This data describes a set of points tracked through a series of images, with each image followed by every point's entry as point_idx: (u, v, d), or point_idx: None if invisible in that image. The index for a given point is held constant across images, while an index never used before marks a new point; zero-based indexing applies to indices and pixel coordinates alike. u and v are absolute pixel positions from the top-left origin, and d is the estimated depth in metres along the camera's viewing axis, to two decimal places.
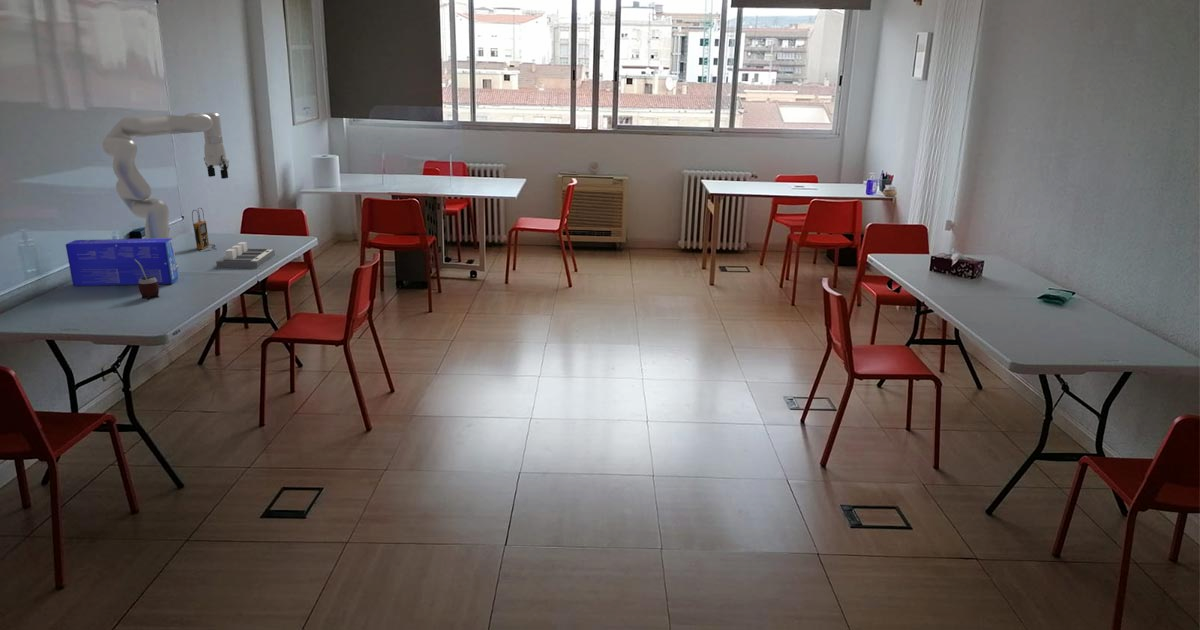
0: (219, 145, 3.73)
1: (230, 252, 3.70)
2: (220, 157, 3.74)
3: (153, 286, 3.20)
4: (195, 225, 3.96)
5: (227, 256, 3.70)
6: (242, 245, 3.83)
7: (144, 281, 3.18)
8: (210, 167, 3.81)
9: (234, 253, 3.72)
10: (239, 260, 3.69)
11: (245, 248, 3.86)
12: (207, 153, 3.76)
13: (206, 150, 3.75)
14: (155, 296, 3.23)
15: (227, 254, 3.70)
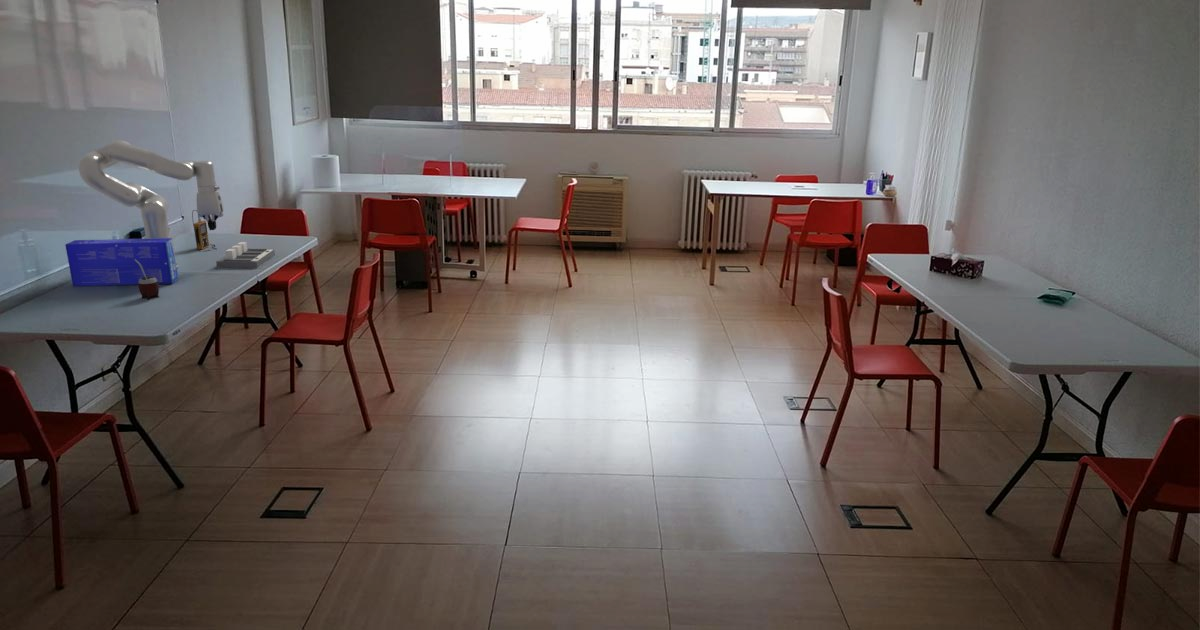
0: None
1: (230, 252, 3.70)
2: None
3: (153, 286, 3.20)
4: (195, 225, 3.96)
5: (227, 256, 3.70)
6: (242, 245, 3.83)
7: (144, 281, 3.18)
8: None
9: (234, 253, 3.72)
10: (239, 260, 3.69)
11: (245, 248, 3.86)
12: None
13: None
14: (155, 296, 3.23)
15: (227, 254, 3.70)
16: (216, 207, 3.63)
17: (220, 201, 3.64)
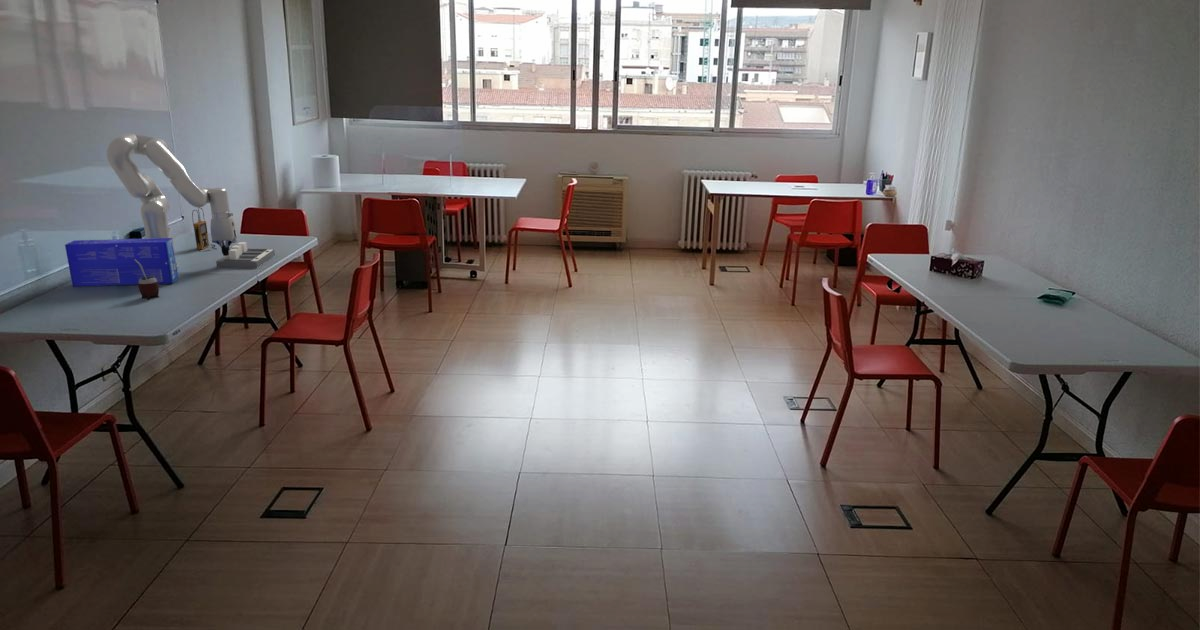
0: None
1: (233, 252, 3.70)
2: None
3: (153, 286, 3.20)
4: (195, 225, 3.96)
5: (230, 256, 3.70)
6: (242, 245, 3.83)
7: (144, 281, 3.18)
8: None
9: (237, 253, 3.72)
10: (239, 260, 3.69)
11: (245, 248, 3.86)
12: None
13: None
14: (155, 296, 3.23)
15: (230, 254, 3.70)
16: (230, 233, 3.67)
17: (233, 227, 3.68)
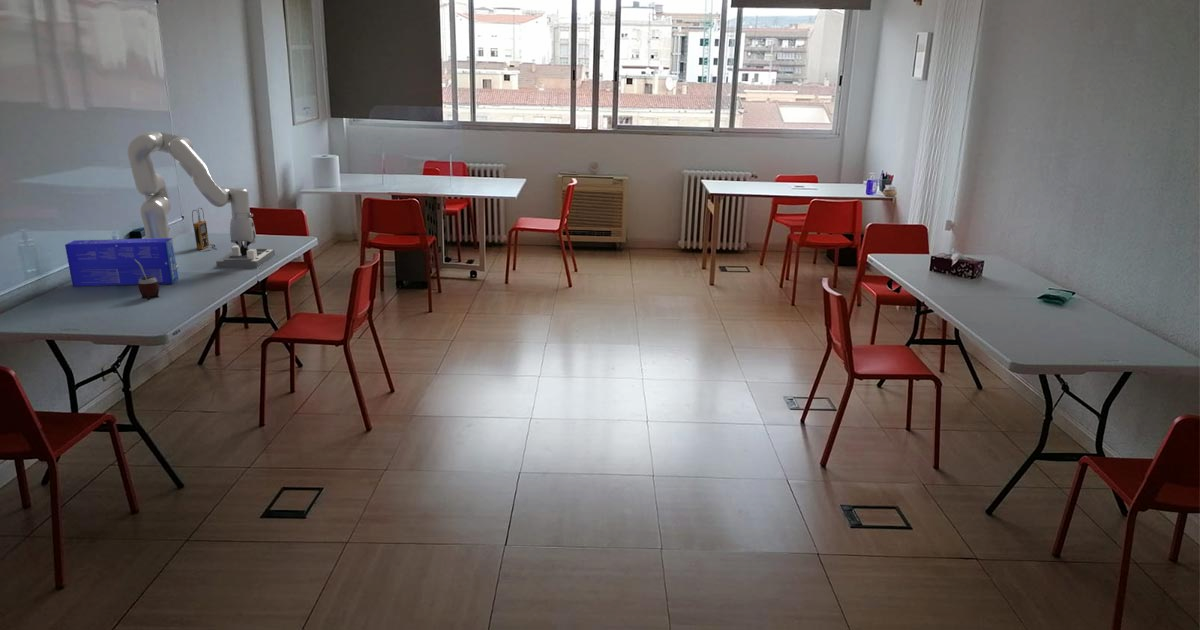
0: None
1: (251, 252, 3.70)
2: None
3: (153, 286, 3.20)
4: (195, 225, 3.96)
5: (248, 256, 3.71)
6: None
7: (144, 281, 3.18)
8: None
9: (255, 253, 3.73)
10: (239, 260, 3.69)
11: None
12: None
13: None
14: (155, 296, 3.23)
15: (248, 254, 3.70)
16: (249, 234, 3.68)
17: (253, 228, 3.69)
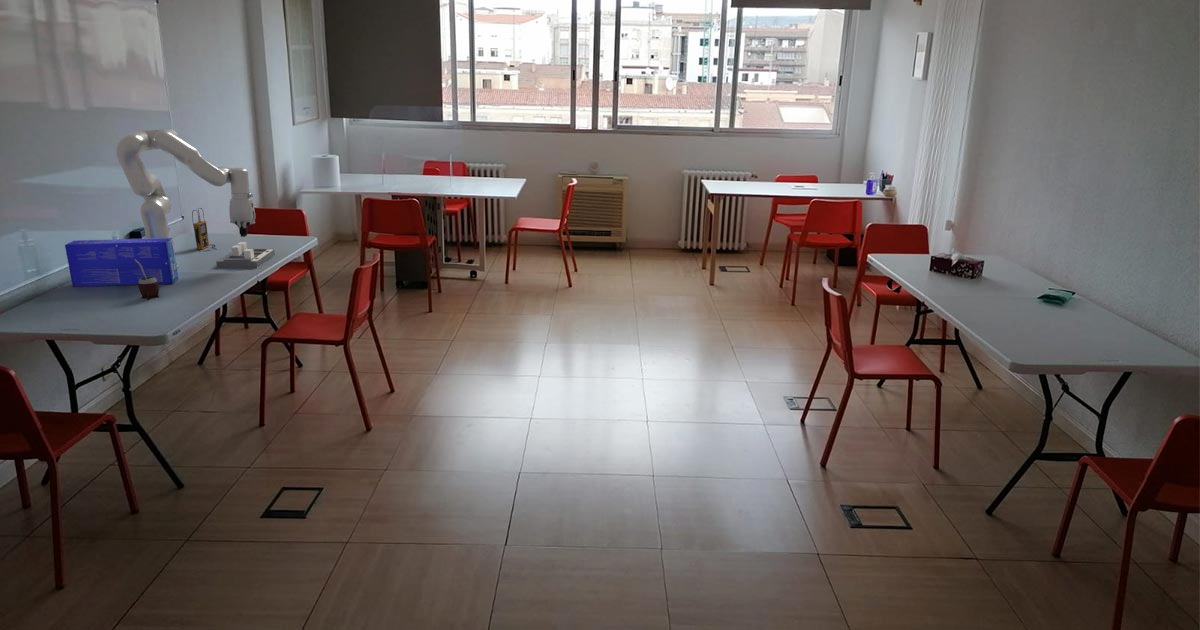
0: None
1: (248, 252, 3.70)
2: None
3: (153, 286, 3.20)
4: (195, 225, 3.96)
5: (245, 256, 3.71)
6: (242, 245, 3.83)
7: (144, 281, 3.18)
8: None
9: (252, 253, 3.73)
10: (239, 260, 3.69)
11: (245, 248, 3.86)
12: None
13: None
14: (155, 296, 3.23)
15: (245, 254, 3.70)
16: (249, 214, 3.65)
17: (252, 209, 3.66)
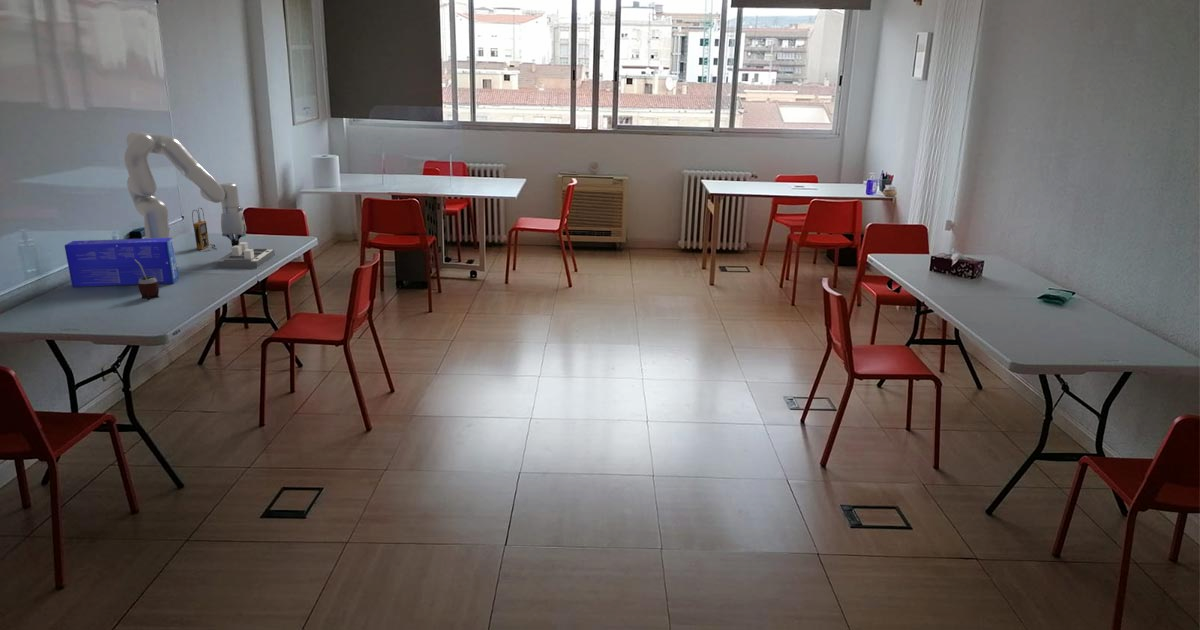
0: None
1: (248, 252, 3.70)
2: None
3: (153, 286, 3.20)
4: (195, 225, 3.96)
5: (245, 256, 3.71)
6: (243, 245, 3.83)
7: (144, 281, 3.18)
8: None
9: (252, 253, 3.73)
10: (239, 260, 3.69)
11: (247, 248, 3.86)
12: None
13: None
14: (155, 296, 3.23)
15: (245, 254, 3.70)
16: (240, 227, 3.80)
17: (243, 221, 3.82)
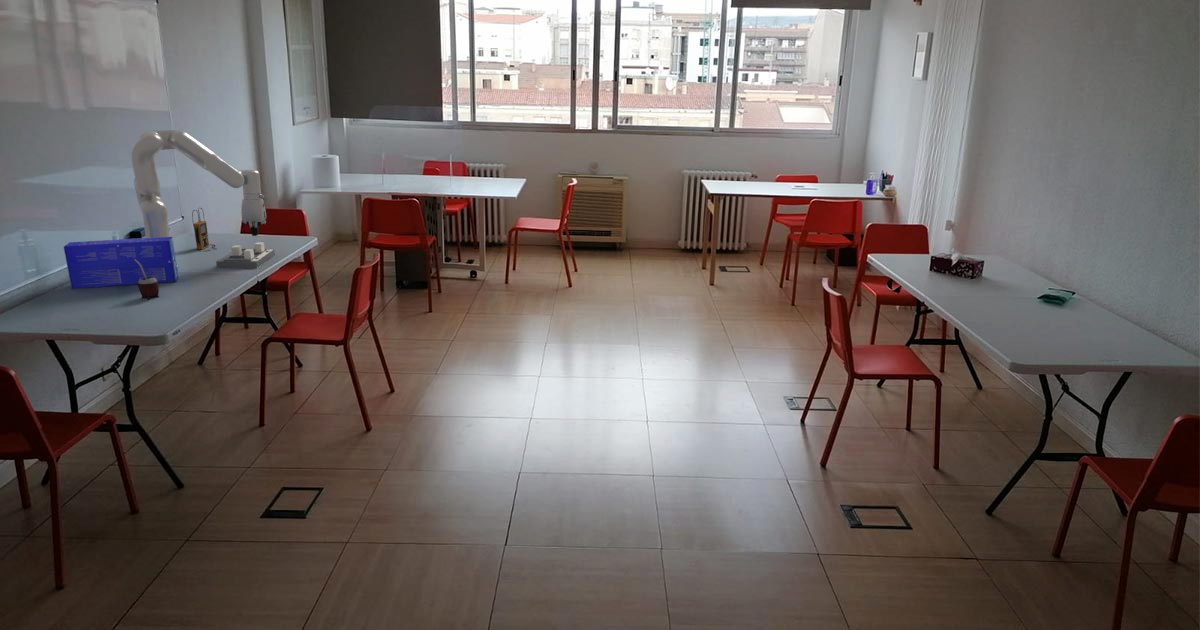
0: None
1: (248, 252, 3.70)
2: None
3: (153, 286, 3.20)
4: (195, 225, 3.96)
5: (245, 256, 3.71)
6: (259, 245, 3.83)
7: (144, 281, 3.18)
8: None
9: (252, 253, 3.73)
10: (239, 260, 3.69)
11: (263, 248, 3.86)
12: None
13: None
14: (155, 296, 3.23)
15: (245, 254, 3.70)
16: (260, 214, 3.79)
17: (264, 209, 3.80)
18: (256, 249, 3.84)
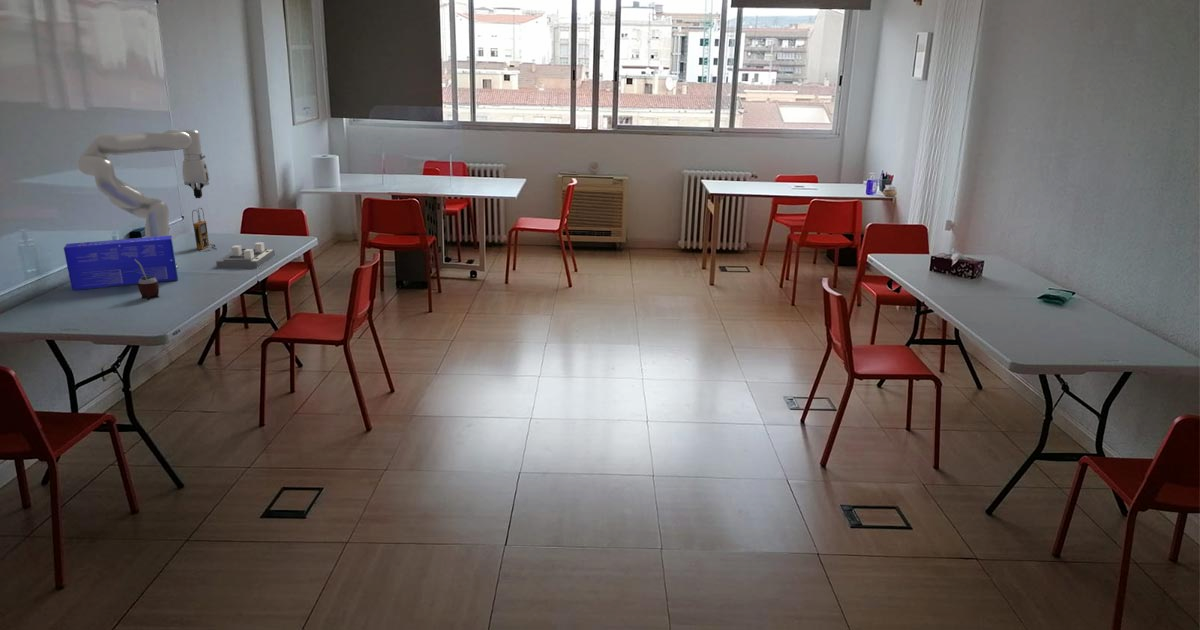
0: None
1: (248, 252, 3.70)
2: None
3: (153, 286, 3.20)
4: (195, 225, 3.96)
5: (245, 256, 3.71)
6: (259, 245, 3.83)
7: (144, 281, 3.18)
8: None
9: (252, 253, 3.73)
10: (239, 260, 3.69)
11: (263, 248, 3.86)
12: None
13: None
14: (155, 296, 3.23)
15: (245, 254, 3.70)
16: (202, 175, 3.69)
17: (206, 170, 3.71)
18: (256, 249, 3.84)
